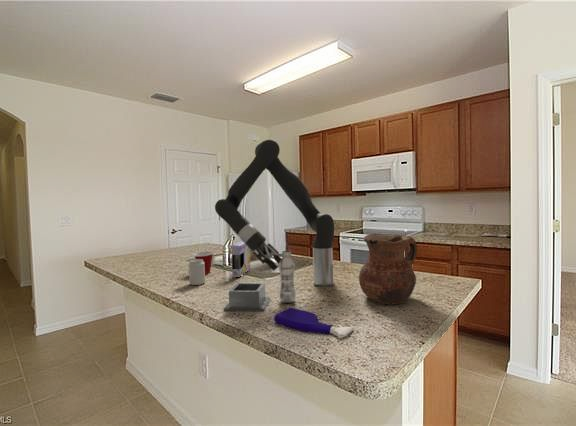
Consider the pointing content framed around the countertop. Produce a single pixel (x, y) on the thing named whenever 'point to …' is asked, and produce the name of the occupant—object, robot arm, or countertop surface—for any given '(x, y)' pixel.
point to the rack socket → (247, 297)
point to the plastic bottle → (287, 278)
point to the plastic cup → (205, 259)
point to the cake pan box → (240, 259)
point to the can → (197, 272)
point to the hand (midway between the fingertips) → (279, 266)
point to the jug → (388, 268)
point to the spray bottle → (308, 323)
